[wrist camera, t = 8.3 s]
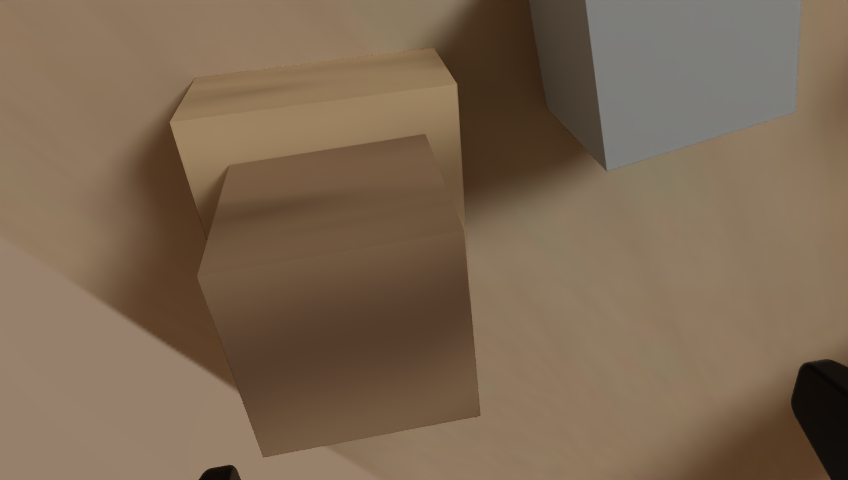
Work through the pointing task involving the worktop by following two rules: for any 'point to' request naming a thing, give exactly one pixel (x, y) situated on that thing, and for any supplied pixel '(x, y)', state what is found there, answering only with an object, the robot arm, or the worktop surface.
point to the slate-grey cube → (664, 70)
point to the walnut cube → (342, 294)
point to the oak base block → (317, 117)
